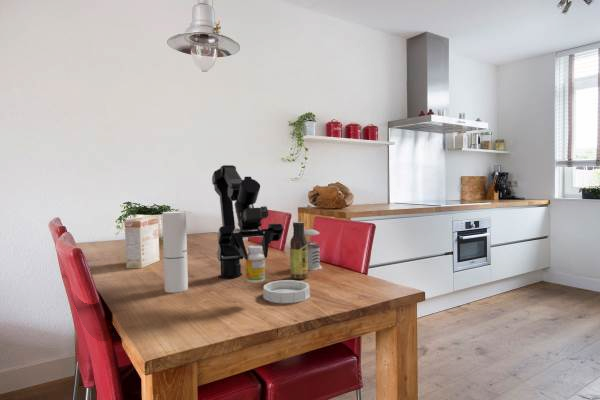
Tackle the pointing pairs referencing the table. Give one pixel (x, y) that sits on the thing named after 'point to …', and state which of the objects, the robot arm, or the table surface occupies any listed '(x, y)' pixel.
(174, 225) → the cylindrical container
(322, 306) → the table surface
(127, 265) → the coffeecake box
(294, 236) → the sauce bottle
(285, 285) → the dish
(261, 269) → the supplement bottle
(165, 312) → the table surface
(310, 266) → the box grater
